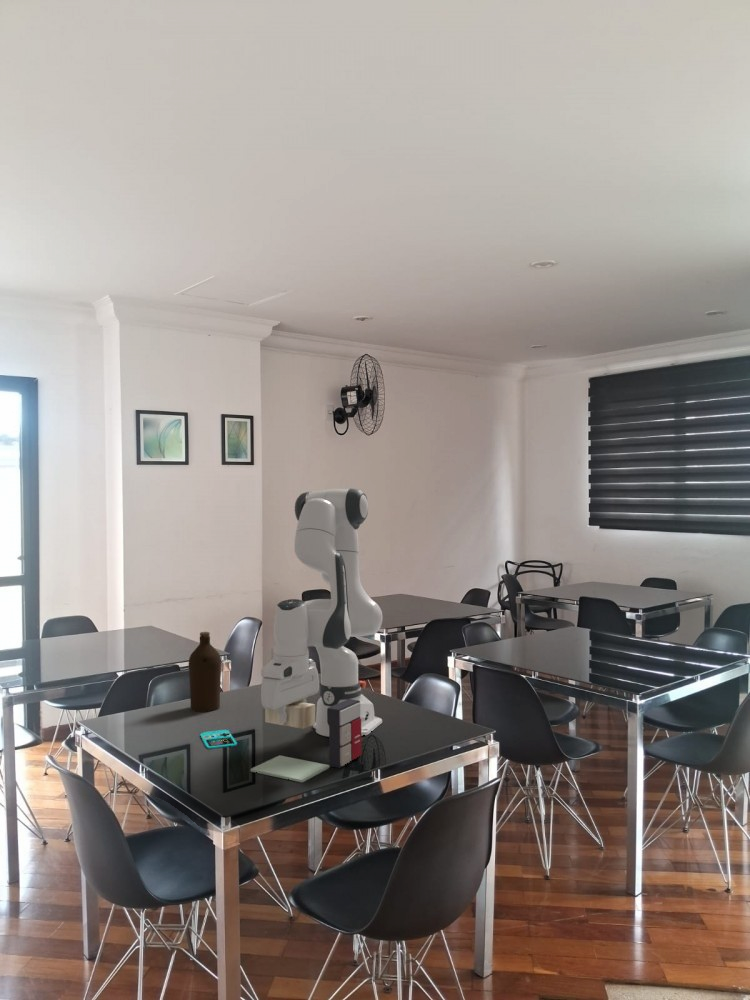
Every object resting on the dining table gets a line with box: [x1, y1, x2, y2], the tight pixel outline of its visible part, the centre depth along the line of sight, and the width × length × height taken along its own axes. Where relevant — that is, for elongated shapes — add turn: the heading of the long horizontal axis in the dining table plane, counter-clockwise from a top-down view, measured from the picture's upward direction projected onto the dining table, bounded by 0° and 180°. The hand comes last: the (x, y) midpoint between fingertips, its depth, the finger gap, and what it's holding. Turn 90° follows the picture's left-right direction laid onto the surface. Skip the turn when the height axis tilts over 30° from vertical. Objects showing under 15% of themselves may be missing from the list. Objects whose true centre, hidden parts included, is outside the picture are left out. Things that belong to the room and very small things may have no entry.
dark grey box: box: [327, 699, 362, 769], centre depth 204 cm, size 11×4×15 cm, turn 151°
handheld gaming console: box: [199, 729, 238, 750], centre depth 224 cm, size 8×1×15 cm
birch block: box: [264, 701, 316, 730], centre depth 199 cm, size 5×5×12 cm
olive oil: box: [188, 631, 222, 713], centre depth 258 cm, size 11×11×25 cm
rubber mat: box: [250, 754, 331, 783], centre depth 199 cm, size 12×16×1 cm
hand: (291, 719), depth 198 cm, fingers closed on birch block, 5 cm apart
